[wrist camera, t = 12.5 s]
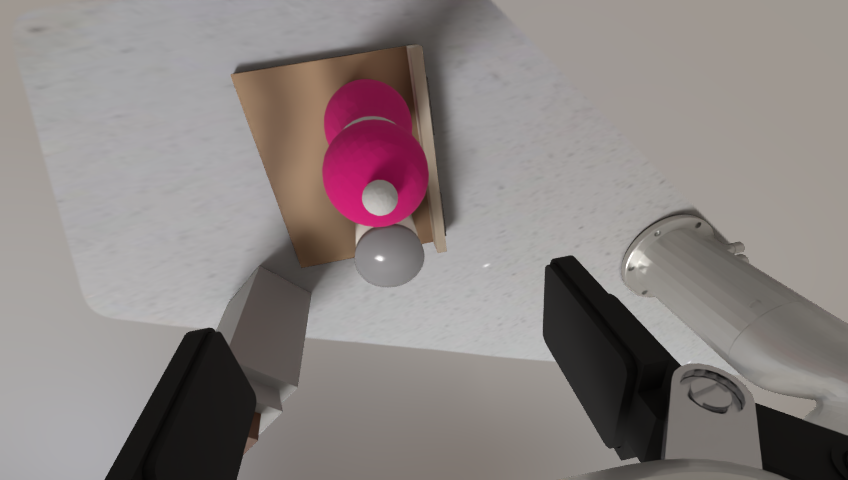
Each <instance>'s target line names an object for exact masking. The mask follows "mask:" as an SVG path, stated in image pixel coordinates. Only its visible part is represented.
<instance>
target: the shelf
mask: <svg viewBox="0 0 848 480" xmlns="http://www.w3.org/2000/svg"><path fill="white" fill-rule="evenodd" d="M231 78H232V81H233V83H234V86H235V89H236V91H237V94H238V97H239V100H240V102H241V105H242V108H243V111H244V113H245V116H246V119H247V121H248V124H249V127H250V130H251V132H252V135H253V138H254V140H255V143H256V146H257V149H258V151H259V154H260V157H261V159H262V162H263V165H264V168H265V170H266V173H267V176H268V178H269V181H270V184H271V187H272V189H273V192H274V195H275V197H276V200H277V203H278V206H279V208H280V211H281V214H282V217H283V219H284V222H285V225H286V227H287V230H288V233H289V236H290V238H291V241H292V244H293V246H294V249H295V252H296V255H297V257H298V260H299V263H300V265H301V268H304V267H309V266H314V265H319V264H324V263H329V262H334V261H339V260H344V259H349V258H354V257H355V248H356V230H355V222H353V221H351V220H349V219H347V218H346V217H345V216H344V215H342V214H341V213H340V212H339V211H338V210H337V209H336V208H335V207H334V205H333V204H332V203H331V201H330V199H329V197H328V196H327V194H326V191H325V188H324V184H323V177H322V167H323V161H324V155H325V153H326V151H327V149H328V147H329V144H328V142H327V139H326V136H325V131H324V115H325V110H326V107H327V104H328V102H329V100H330V99H331V97H332V96H333V95H334V93H335V92H336V91H337V90H338V89H340V88H341V87H342V86H344V85H346V84H347V83H349V82H352V81H355V80H360V79H372V80H377V81H380V82H383V83H385V84H387V85H389V86H391V87H392V88H393V89H395V90H396V91H397V92H398V93H399V94H400V95H401V96H402V98H403V99H404V101H405V102H406V104H407V106H408V108H409V111H410V115H411V120H412V135H413V136H414V137H415V139H416V140H417V141H418V142H419V143H420V145H421V147H422V149H423V151H424V153H425V156H426V159H427V163H428V170H429V182H428V186H427V190H426V193H425V196H424V198H423V200H422V202H421V203H420V205H419V206H418V207H417V208H416V210H415V211H414V212H413V213H412V214H411V215H412V218H413V221H414V225H415V228H416V231H417V234H418V237H419V239H420V241H421V244H424V243H429V242H434V244H435V247H436V250H437V252H438V253H441V252H446V251H447V249H446V241H445V236H446V230H445V221H444V213H443V204H442V196H441V192H440V190H439V182H438V174H437V166H436V157H435V149H434V141H433V135H434V128H433V119H432V111H431V102H430V94H429V85H428V78H427V77H426V74H425V66H424V57H423V49H422V46H420V45H417V44H413V45H407V46H401V47H394V48H388V49H382V50H376V51H370V52H363V53H357V54H351V55H345V56H339V57H332V58H326V59H320V60H314V61H307V62H301V63H295V64H289V65H283V66H276V67H270V68H264V69H258V70H251V71H245V72H239V73H233V74H231Z"/></svg>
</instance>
